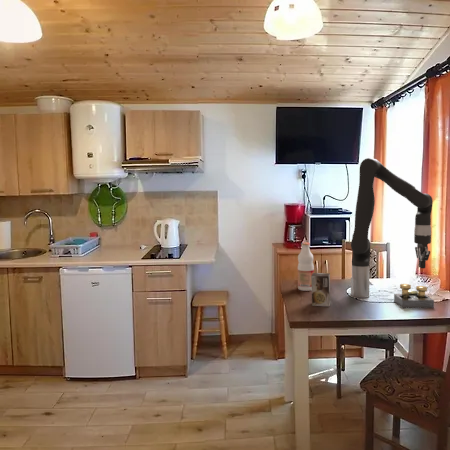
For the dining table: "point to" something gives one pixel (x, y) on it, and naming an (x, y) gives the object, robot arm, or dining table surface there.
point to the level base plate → (413, 301)
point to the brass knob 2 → (421, 291)
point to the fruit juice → (305, 268)
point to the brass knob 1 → (405, 290)
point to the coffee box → (320, 289)
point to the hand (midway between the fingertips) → (422, 267)
